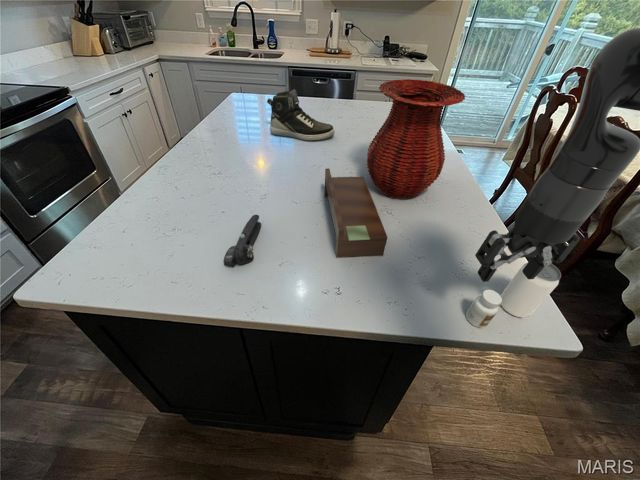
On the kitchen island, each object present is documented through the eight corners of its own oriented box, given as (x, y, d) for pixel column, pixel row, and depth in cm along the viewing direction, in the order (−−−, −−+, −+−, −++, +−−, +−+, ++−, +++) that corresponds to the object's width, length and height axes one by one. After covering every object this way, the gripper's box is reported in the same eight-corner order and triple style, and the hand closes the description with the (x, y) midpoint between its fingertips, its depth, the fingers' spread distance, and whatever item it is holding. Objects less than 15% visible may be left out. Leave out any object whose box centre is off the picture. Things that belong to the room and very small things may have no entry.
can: (522, 294, 67) (552, 257, 58) (536, 319, 62) (571, 283, 54) (493, 293, 67) (519, 256, 58) (505, 318, 62) (536, 281, 54)
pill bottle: (483, 332, 59) (500, 310, 54) (462, 319, 61) (476, 297, 56) (490, 318, 62) (508, 296, 56) (470, 306, 64) (485, 283, 59)
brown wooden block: (383, 257, 74) (390, 229, 68) (336, 259, 73) (339, 231, 67) (361, 193, 95) (364, 167, 88) (324, 194, 94) (325, 168, 87)
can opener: (249, 273, 69) (246, 256, 65) (221, 268, 69) (216, 251, 66) (271, 225, 82) (269, 209, 78) (247, 222, 82) (244, 205, 79)
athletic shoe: (274, 129, 132) (269, 85, 120) (335, 134, 128) (337, 89, 116) (266, 138, 124) (261, 92, 113) (332, 143, 120) (333, 96, 109)
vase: (358, 168, 106) (371, 76, 86) (422, 170, 107) (450, 79, 87) (366, 207, 89) (384, 103, 69) (443, 208, 90) (483, 106, 69)
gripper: (528, 222, 38) (477, 296, 49) (626, 218, 39) (555, 291, 50) (496, 189, 43) (457, 263, 55) (584, 187, 45) (528, 259, 56)
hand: (505, 276), depth 52 cm, fingers open, 8 cm apart
